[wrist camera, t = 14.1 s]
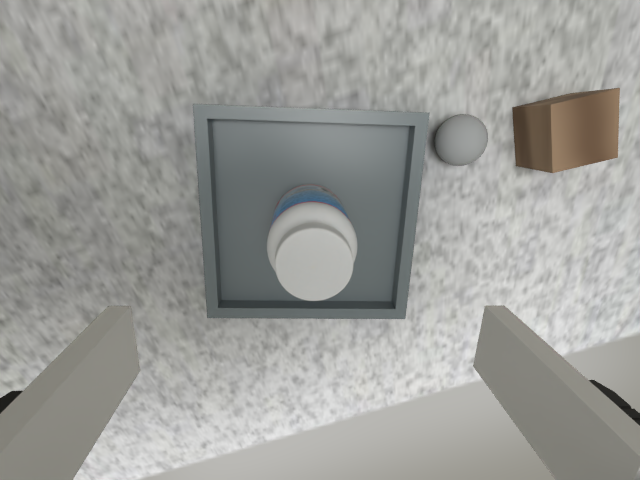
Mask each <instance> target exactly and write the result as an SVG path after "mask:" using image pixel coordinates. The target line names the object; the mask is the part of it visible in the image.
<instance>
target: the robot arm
mask: <svg viewBox="0 0 640 480" xmlns="http://www.w3.org/2000/svg"><path fill="white" fill-rule="evenodd" d="M473 367H474V368H475V369H476V371H477V372H478V373H479V375H480V376H481V378H482V379H483V380H484V382H485V383H486V384H487V386H488V387H489V389H490V390H491V391H492V393H493V394H494V395H495V397H496V398H497V400H498V401H499V402H500V404H501V405H502V406H503V408H504V409H505V411H506V412H507V414H508V415H509V416H510V418H511V419H512V420H513V422H514V423H515V424H516V426H517V427H518V429H519V430H520V431H521V433H522V434H523V436H524V437H525V438H526V440H527V441H528V443H529V444H530V445H531V447H532V448H533V449H534V451H535V452H536V454H537V455H538V456H539V458H540V459H541V460H542V462H543V463H544V464H545V466H546V467H547V469H548V470H549V472H550V473H551V474H552V476H553V477H554V478H555V480H640V413H638V412H637V411H636V410H635V409H631V406H630V405H629V404H628V403H627V402H625V401H624V400H623V399H622V398H621V397H619V396H618V395H617V394H616V393H615V392H613V391H612V390H610V389H608V388H606V387H605V386H603V385H601V384H600V383H598V382H596V381H595V380H588V379H586V378H585V377H584V376H583V375H582V374H581V373H579V372H578V371H577V370H576V369H575V368H574V367H573V366H572V365H571V364H569V363H568V362H567V361H566V360H565V359H564V358H563V357H562V356H561V355H559V354H558V353H557V352H556V351H555V350H554V349H553V348H552V347H550V346H549V345H548V344H547V343H546V342H545V341H544V340H543V339H541V338H540V337H539V336H538V335H537V334H536V333H535V332H534V331H532V330H531V329H530V328H529V327H528V326H527V325H526V324H524V323H523V322H522V321H521V320H520V319H519V318H518V317H517V316H515V315H514V314H513V313H512V312H511V311H510V310H509V309H508V308H506V307H505V306H485V309H484V314H483V319H482V324H481V329H480V334H479V339H478V344H477V349H476V354H475V360H474V365H473ZM139 372H140V367H139V360H138V353H137V346H136V339H135V332H134V325H133V318H132V311H131V306H108V307H107V308H106V309H105V310H104V311H103V312H102V313H101V314H100V315H99V316H98V317H97V318H96V319H95V320H94V321H93V322H92V323H91V324H90V325H89V326H88V327H87V328H86V329H85V330H84V331H83V332H82V333H81V334H80V335H79V336H78V337H77V338H76V339H75V340H74V341H73V342H72V343H71V344H70V345H69V346H68V347H67V348H66V349H65V350H64V351H63V352H62V353H61V354H60V355H59V356H58V357H57V358H56V359H55V360H54V361H53V362H52V363H51V364H50V365H49V366H48V367H47V368H46V369H45V370H44V371H43V372H42V373H41V374H40V375H39V376H38V377H37V378H36V379H35V380H34V381H33V382H32V383H31V384H30V385H29V386H28V387H27V388H26V389H25V390H24V391H11V392H10V393H8V394H6V395H5V396H3V397H2V398H0V480H73V478H74V477H75V475H76V473H77V472H78V470H79V469H80V467H81V465H82V464H83V462H84V460H85V459H86V457H87V456H88V454H89V452H90V451H91V449H92V448H93V446H94V444H95V443H96V441H97V439H98V438H99V436H100V435H101V433H102V431H103V430H104V428H105V427H106V425H107V423H108V422H109V420H110V418H111V417H112V415H113V414H114V412H115V410H116V409H117V407H118V406H119V404H120V402H121V401H122V399H123V397H124V396H125V394H126V393H127V391H128V389H129V388H130V386H131V385H132V383H133V381H134V380H135V378H136V376H137V375H138V373H139Z"/></svg>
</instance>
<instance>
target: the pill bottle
mask: <svg viewBox="0 0 640 480" xmlns="http://www.w3.org/2000/svg"><path fill="white" fill-rule="evenodd" d="M267 253H268V258H269V261H270V263H271V266H272V267H273V269H274V271H275V272H276V275H277V278H278V280H279V282H280V283H281V285H282V286H283V287H284V288H285V290H287V291H288V292H289V293H290V294H292V295H293V296H295V297H297V298H300V299H303V300H308V301H320V300H325V299H328V298H330V297H333V296H335V295H336V294H338V293H339V292H340V291H341V290H342V289H344V288H345V286H346V285H347V284H348V282H349V280H350V278H351V275H352V272H353V265H354V261H355V258H356V254H357V237H356V233H355V231H354V228H353V226H352V224H351V222H350V220H349V218H348V216H347V213H346V211H345V210H344V208H343V206H342V204H341V202H340V200H339V199H338V198H337V196H336V195H335V194H334V193H333V192H332V191H330V190H329V189H327V188H325V187H323V186H320V185H316V184H304V185H300V186H297V187H295V188H293V189H291V190H290V191H288V192H287V193H286V194H284V195H283V196H282V197H281V199H280V200H279V202H278V203H277V206H276V208H275V211H274V215H273V219H272V223H271V226H270V231H269V234H268V239H267Z"/></svg>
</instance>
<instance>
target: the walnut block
mask: <svg viewBox="0 0 640 480" xmlns="http://www.w3.org/2000/svg"><path fill="white" fill-rule="evenodd" d="M619 93H620V88H615V89H606V90H597V91H588V92H579V93H570V94H566V95H562V96H558V97H554V98H550V99H546V100H542V101H537V102H533V103H529V104H525V105H521V106H517V107H513V108H512V110H513V126H514V142H515V158H516V166H519V167H524V168H530V169H535V170H540V171H545V172H550V173H555V172H559V171H563V170H567V169H572V168H576V167H580V166H584V165H588V164H592V163H597V162H601V161H605V160H609V159H613V158H617V157H618V128H619Z"/></svg>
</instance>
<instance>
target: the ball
mask: <svg viewBox="0 0 640 480" xmlns="http://www.w3.org/2000/svg"><path fill="white" fill-rule="evenodd" d="M487 142H488V133H487V129H486V127H485V125H484V124H483V123H482V122H481V121H480V120H479V119H478V118H476V117H474V116H472V115H466V114H461V115H456V116H453V117H451V118H449V119H448V120H446V121H445V122H444V123H443V124H442V125H441V126H440V128H439V129H438V131H437V133H436V137H435V148H436V151H437V153H438V155H439V157H440V158H441V159H442V160H443V161H445V162H446V163H448V164H451V165H456V166H462V165H467V164H470V163H472V162H474V161H475V160H477V159H478V158H479V157H480V156H481V155H482V154H483V152H484V150H485V148H486V146H487Z"/></svg>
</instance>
